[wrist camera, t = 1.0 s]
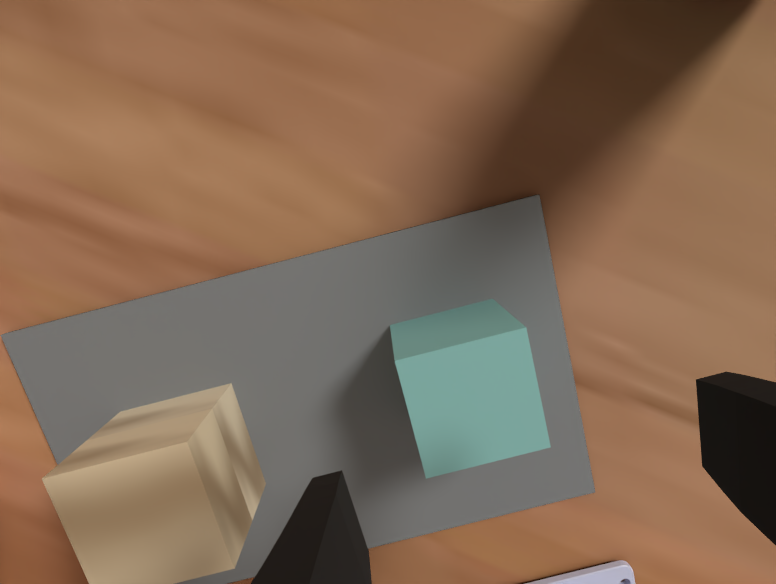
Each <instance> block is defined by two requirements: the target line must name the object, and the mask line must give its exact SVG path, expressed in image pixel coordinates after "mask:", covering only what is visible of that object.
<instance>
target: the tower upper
mask: <svg viewBox="0 0 776 584" xmlns="http://www.w3.org/2000/svg"><path fill="white" fill-rule="evenodd" d="M42 481H43V483H44V485H45V487H46V489H47V492H48V494H49V496H50V498H51V500H52V503H53V505H54V507H55V509H56V512H57V514H58V516H59V518H60V520H61V523H62V525H63V527H64V529H65V531H66V534H67V536H68V538H69V540H70V543H71V545H72V547H73V549H74V551H75V554H76V556H77V558H78V560H79V562H80V565H81V567H82V569H83V571H84V573H85V576H86V578H87V580H88V582H89V584H175V583H179V582H183V581H187V580H191V579H195V578H199V577H203V576H207V575H211V574H215V573H219V572H223V571H227V570H231V569H235V567H236V564H237V561H238V558H239V556H240V553H241V550H242V548H243V545H244V542H245V539H246V537H247V534H248V531H249V529H250V526H251V523H252V518H251V515H250V513H249V510H248V507H247V504H246V502H245V499H244V496H243V493H242V490H241V488H240V485H239V482H238V479H237V476H236V474H235V471H234V468H233V465H232V462H231V460H230V457H229V454H228V451H227V448H226V446H225V443H224V440H223V437H222V434H221V432H220V429H219V426H218V423H217V421H216V418H215V415H214V412H213V409H208V410H204V411H201V412H197V413H193V414H189V415H185V416H181V417H177V418H173V419H169V420H165V421H161V422H157V423H154V424H150V425H146V426H142V427H138V428H134V429H130V430H126V431H122V432H118V433H114V434H111V435H107V436H103V437H99V438H95V439H91V440H87V441H85V442H84V443H83V444H82V445H81V446H79V447H78V448H77V449H76V450H75V451H74V452H72V453H71V454H70V455H69V456H68V457H67V458H65V459H64V460H63V461H62V462H61V463H60V464H58V465H57V466H56V467H55V468H54V469H53V470H51V471H50V472H49V473H48V474H47V475H46V476H44V477H43V478H42Z"/></svg>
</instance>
